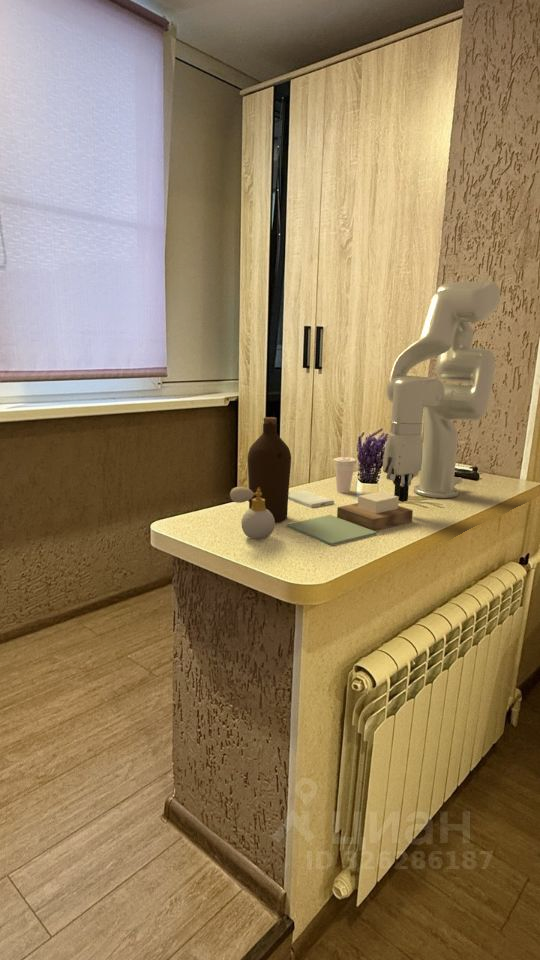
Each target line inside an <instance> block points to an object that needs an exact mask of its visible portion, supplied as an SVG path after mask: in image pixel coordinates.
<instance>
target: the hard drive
mask: <svg viewBox="0 0 540 960" xmlns="http://www.w3.org/2000/svg"><path fill="white" fill-rule="evenodd" d="M288 499H289V500H288V501H291V500H292V502H294V503H296V504H299V505H302V506H305V507H307V508H310V509H313V508H319V507H323V506H328V505H334V504H335V500H333V499H330V498H328V497H325V496H322V495H320V494H316V493H314V492H311V491H308V490H305V489H303V490H297V491H292V492H291V491H290V492H289V493H288Z"/></svg>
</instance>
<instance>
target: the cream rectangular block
mask: <svg viewBox="0 0 540 960" xmlns="http://www.w3.org/2000/svg"><path fill="white" fill-rule="evenodd" d="M357 503H358V508H360V509H363V510H366V511H369V512H372V513H375V514H376V513H380V512H385V511H389V510H394V509H398V506H399V503H400V501H399V497H398V496H394V494H390V493H387V492H384V491H377V492H373V493H366V494H361V495H358V498H357Z"/></svg>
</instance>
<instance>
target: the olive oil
mask: <svg viewBox="0 0 540 960" xmlns="http://www.w3.org/2000/svg"><path fill="white" fill-rule="evenodd" d="M277 422H278V419H277V417H275V416H274V417H273V416H265V417H263V423H262V433H261V435H260V436H259V437H258V438H257V439H256V440H255V441H254V442H253V443H252V444H251V446H250V447H249V450H248V454H247V457H246V458H247V477H248V478H247V481H248V489H250V490H251V491H252V492H254V493H256V492H257V489H258V488H260V490H261V491H260V492H262V495H261V496H260V497H261V498H263V499H265V507H266V509H267V510H269V511H270V512H271V513H272V515H273V517H274V519H275V524H278V523H281V522H284V521H287V519H288V510H289V509H288V507H289V500H288V493H290V492H289V491H290V489H289V488H290V479H291V466H292V454H291V451H290V449H289V447H288V445H287V444H286V442H285V441H284V440H283V439H282V438H281V437H280V436H279V434H278V433H277V432H278V424H277ZM256 497H257V496H256V495H254V496H253V497H252V498H251V499H250V500H248V501H247V502H248V510H249V509H251V507H252V499H254V498H256Z"/></svg>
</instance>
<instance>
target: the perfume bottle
mask: <svg viewBox="0 0 540 960" xmlns="http://www.w3.org/2000/svg"><path fill="white" fill-rule="evenodd" d="M260 491H261V490H260V488H258V489H257V492H256V493H254V492H252V491H251V490H250V489H249V487H244V486H236V487H233V488H232V489H231V490H230V493H229V497H230V500H231V501H232V502H235V503H237V504H240V503H246V502H249V501H248V500H250V499H251V498H252V497H253V496H254V495H256V496H257V497H256V498H254V499H252V507H251V509H249V508H248V510H246V512H245V513H244V514H243V515H242V517H241V530H242V531H243V533H244V535H245V536H246V537H248V539H251V540H253V541H254V540H255V541H261V540H265V539H268V538H269V537H270V536H271V535H272V533H273V532H274V530H275V526H276V523H275V519H274V517H273V515H272V513H271V512H270V511H269V510H267V509H266V507H265V499H263V498H261V497H260V496H261V495H262V492H260Z"/></svg>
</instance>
